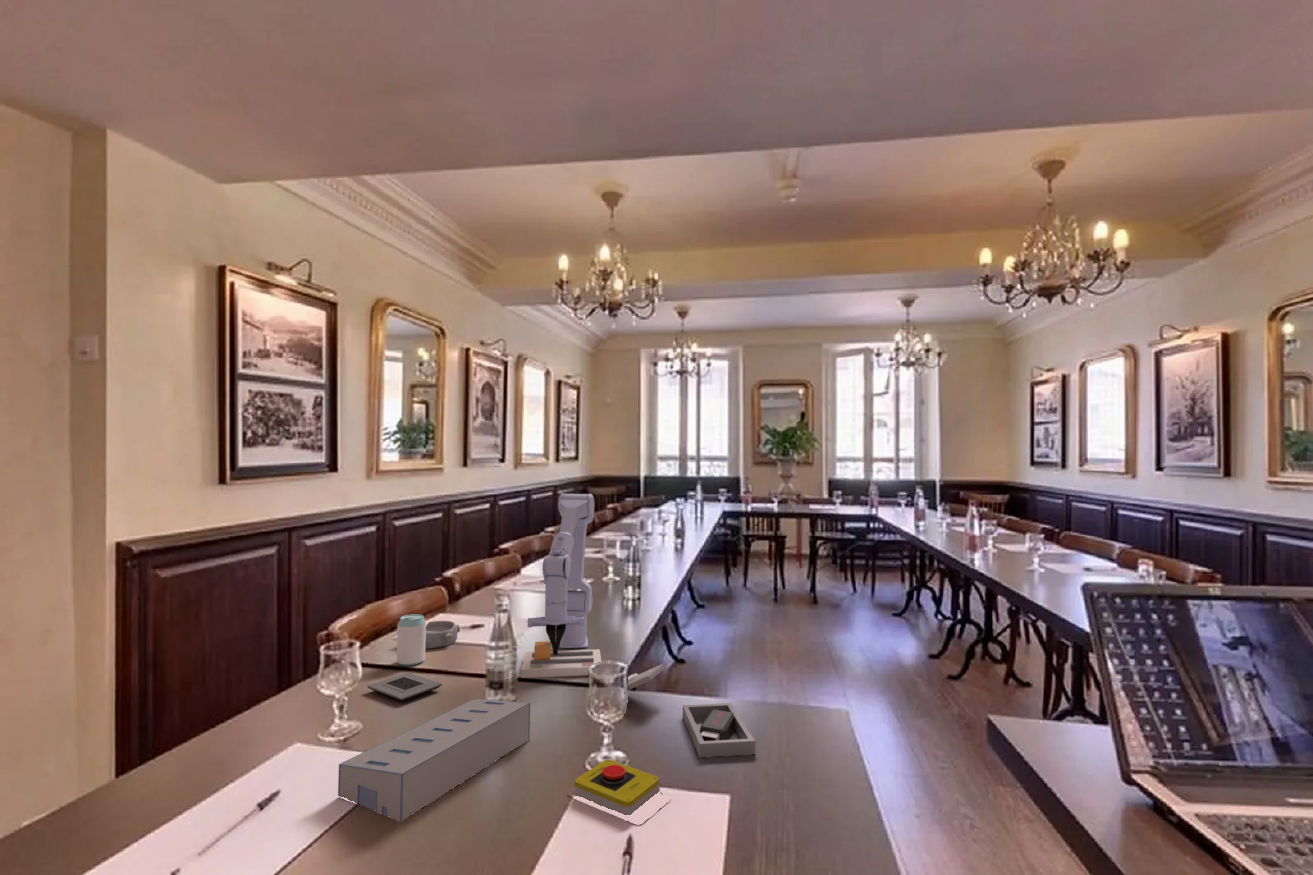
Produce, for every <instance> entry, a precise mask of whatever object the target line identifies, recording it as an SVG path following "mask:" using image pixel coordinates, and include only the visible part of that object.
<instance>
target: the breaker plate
mask: <svg viewBox="0 0 1313 875" xmlns="http://www.w3.org/2000/svg"><path fill="white" fill-rule="evenodd" d="M598 662H601V663H602V657H601V649H598V648H597V649H573V650H568V649H567V650H558V655H553V650H551V658H550V659H546V660H534V651H525V653H524V658H523V662H522V666H521V668H520V673H521V674H520V678H521V679H525V678H527V679H529V678H550V677H551V678H552V677H555V678H556V677H572V676H573V677H576V676H579V677H580V676H589V675H588V671H589V668H590V667H591V665H592V664H595V663H598Z"/></svg>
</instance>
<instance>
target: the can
mask: <svg viewBox="0 0 1313 875" xmlns="http://www.w3.org/2000/svg"><path fill="white" fill-rule="evenodd" d="M426 625H427V621H426V619H425V618H424V615H423V614H418V613H414V614H413V613H412V614H405V615H402V616H401V617H400V619H399V621H398V623H397V632H396V663H397V664H399V665H400V666H406V667H407V666H416V665H419V664H421V663H422V662H423V661H425V659H426V648H425V642H426Z"/></svg>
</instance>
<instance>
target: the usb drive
mask: <svg viewBox="0 0 1313 875" xmlns="http://www.w3.org/2000/svg"><path fill="white" fill-rule="evenodd" d="M733 714H734V713H733V712H727V711H721V710H712V711H711V712H710V713H709V715H708V716H707V718H704V721H703V722H702V724H701V725H700V727H699V732H700V734H701V736H702V738H703V740H704V741H716V740H729V737H730V736H731V734H732V732H733V730H735V729H734V715H733Z"/></svg>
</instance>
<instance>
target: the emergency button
mask: <svg viewBox="0 0 1313 875" xmlns="http://www.w3.org/2000/svg"><path fill="white" fill-rule="evenodd" d="M574 780H575V781H574V787H573V789H574V795H575V796H579V797H583V798H585V799H587V800H589V801H593V802H594V803H596V804H598V805H600V806H604V807H606V808H608V809H611V810H615V811H617V812H619V813H622V814H624V815H631V814H632V813H633V812H634V811H635V810H637V809H638V808H639V807H640V806H642V805H643V804H644V803H645V802H646V801H648V800H649V799H650V798H651V797H653V796H654V795H655V794H657V793H658V792H659V791H660V792H661V788H660V787H661V786H660V779H659V777H658V776H657V775H654V774H652V773H648V772H645V771H643V770H641V769H638V768H636V767H635V768H634V767H631V766H630V765H626V764H624V763H621V762H618V761H614V760H612V759H605V760H602V762H600V763H598V764H597V765H595V766H593V767H592V768H590V769H589V770H587V771H586V772H584V773H583V774H581V775H580V776H578V777H577V778H575V779H574Z"/></svg>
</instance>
